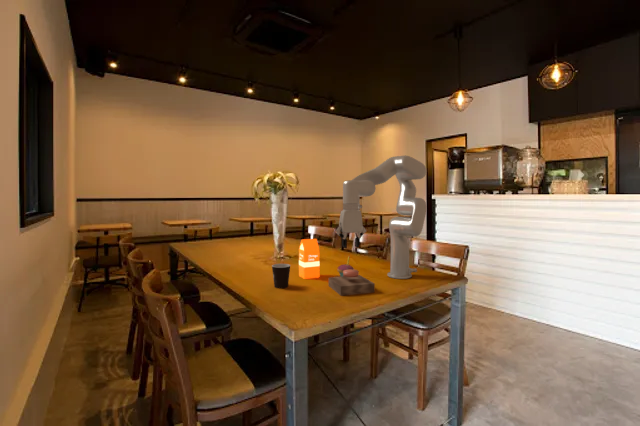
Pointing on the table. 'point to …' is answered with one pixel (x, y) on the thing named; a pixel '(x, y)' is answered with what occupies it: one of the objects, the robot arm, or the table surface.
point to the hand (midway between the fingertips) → (350, 246)
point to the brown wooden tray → (351, 285)
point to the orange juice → (309, 259)
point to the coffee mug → (281, 275)
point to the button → (350, 273)
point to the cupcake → (344, 267)
